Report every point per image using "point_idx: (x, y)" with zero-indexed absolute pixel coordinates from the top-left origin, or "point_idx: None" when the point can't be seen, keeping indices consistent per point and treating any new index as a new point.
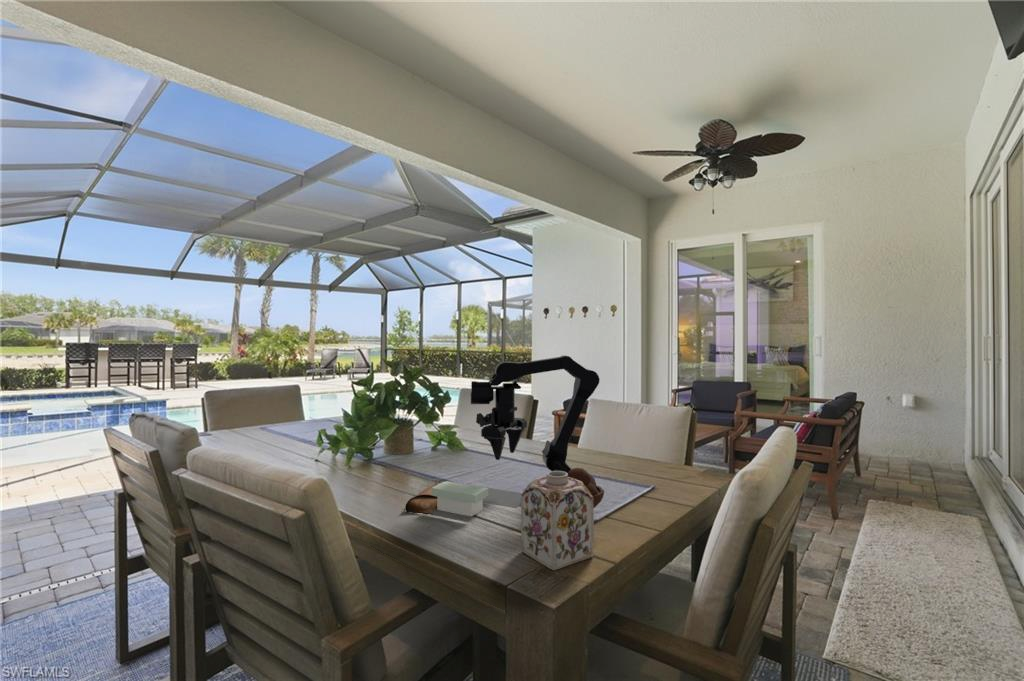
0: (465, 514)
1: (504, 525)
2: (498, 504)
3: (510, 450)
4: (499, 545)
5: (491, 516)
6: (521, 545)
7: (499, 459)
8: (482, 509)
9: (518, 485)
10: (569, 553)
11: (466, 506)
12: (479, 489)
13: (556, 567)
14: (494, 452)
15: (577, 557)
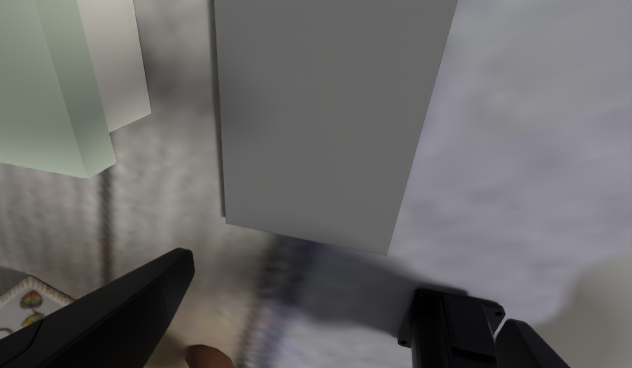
0: None
1: (109, 215)
2: (225, 157)
3: (517, 340)
4: (16, 231)
5: (137, 159)
6: (14, 286)
7: (191, 274)
8: (144, 116)
9: (564, 156)
10: None
11: None
12: (40, 144)
13: None
14: (101, 297)
15: None
